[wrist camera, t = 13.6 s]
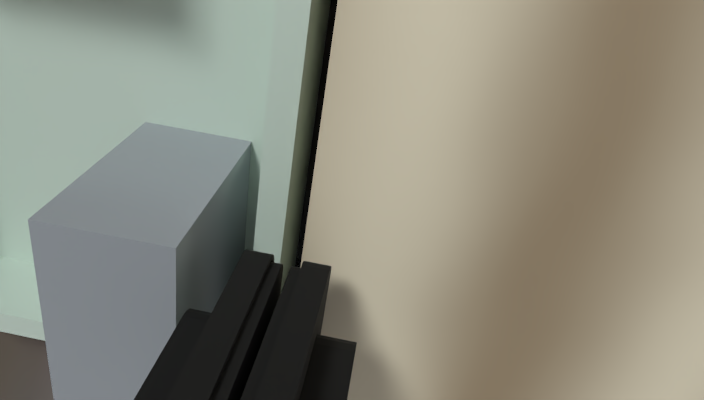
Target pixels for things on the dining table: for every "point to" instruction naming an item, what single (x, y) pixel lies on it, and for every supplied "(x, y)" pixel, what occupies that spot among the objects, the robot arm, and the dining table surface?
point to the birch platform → (514, 198)
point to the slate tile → (136, 254)
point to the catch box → (152, 107)
